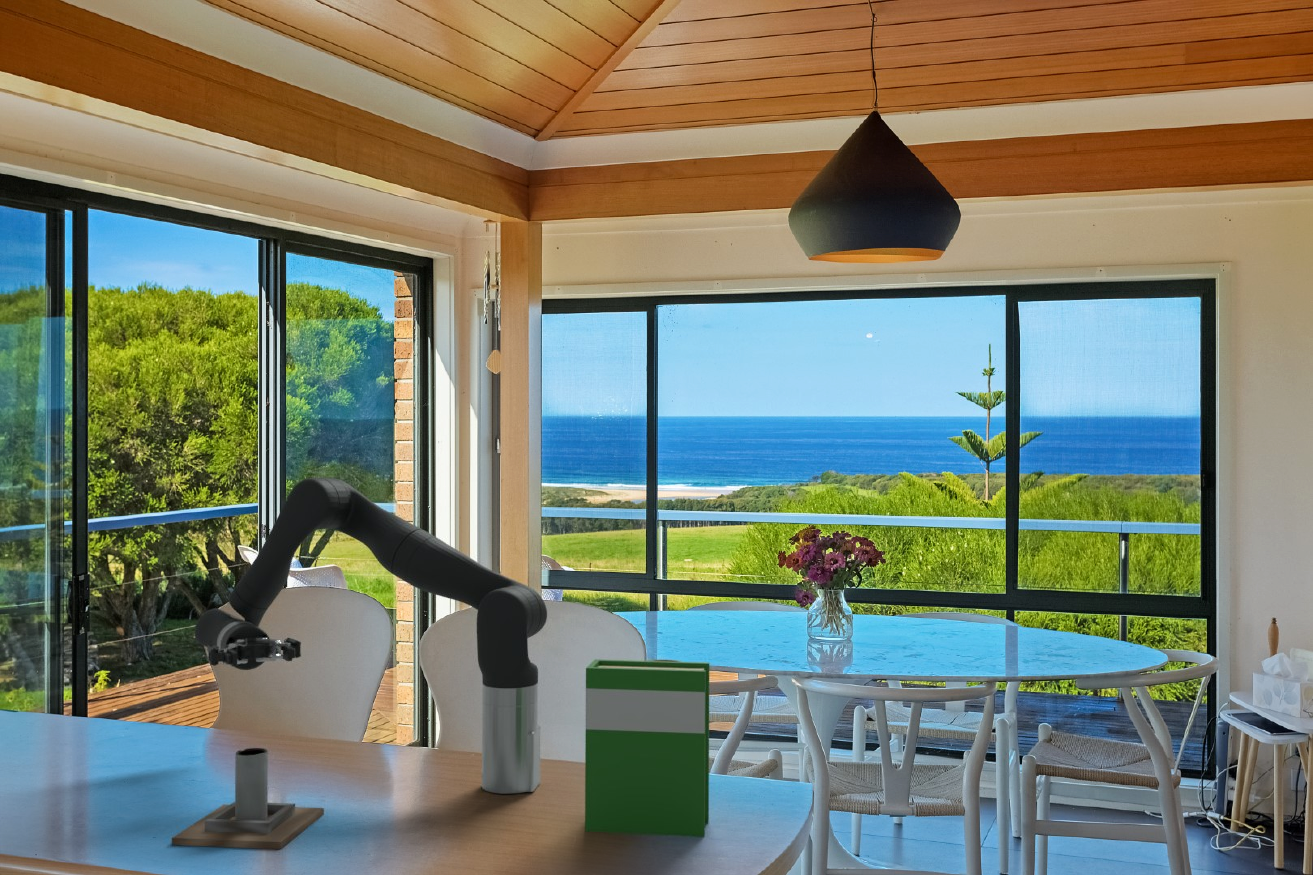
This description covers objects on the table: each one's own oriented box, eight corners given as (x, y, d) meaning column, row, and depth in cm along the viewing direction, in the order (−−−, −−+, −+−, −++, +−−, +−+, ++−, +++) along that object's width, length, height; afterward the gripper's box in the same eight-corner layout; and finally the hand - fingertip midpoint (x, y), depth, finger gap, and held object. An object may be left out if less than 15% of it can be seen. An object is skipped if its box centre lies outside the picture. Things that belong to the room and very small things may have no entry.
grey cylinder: (256, 827, 172) (256, 755, 172) (228, 824, 173) (229, 754, 173) (273, 818, 176) (273, 748, 177) (246, 816, 178) (246, 746, 178)
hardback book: (708, 821, 180) (709, 662, 180) (704, 836, 172) (705, 671, 173) (594, 815, 182) (595, 659, 182) (584, 831, 174) (585, 667, 175)
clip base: (323, 814, 182) (323, 798, 182) (280, 848, 166) (281, 831, 166) (223, 810, 183) (223, 794, 183) (171, 844, 167) (171, 827, 167)
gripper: (198, 626, 200) (215, 637, 186) (285, 619, 207) (308, 629, 193) (199, 670, 199) (216, 685, 185) (285, 662, 207) (308, 676, 193)
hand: (263, 657), depth 189 cm, fingers open, 8 cm apart
